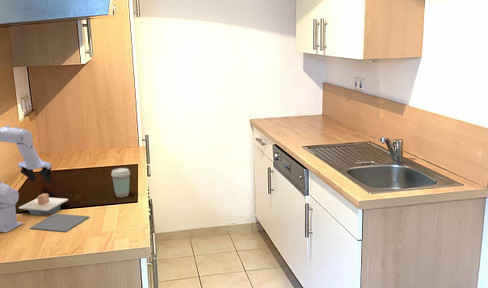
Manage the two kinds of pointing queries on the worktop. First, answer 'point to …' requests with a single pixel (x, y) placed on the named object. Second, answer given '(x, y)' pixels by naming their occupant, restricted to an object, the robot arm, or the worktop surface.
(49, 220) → the mat
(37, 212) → the dish
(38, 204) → the lid
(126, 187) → the coffee cup
